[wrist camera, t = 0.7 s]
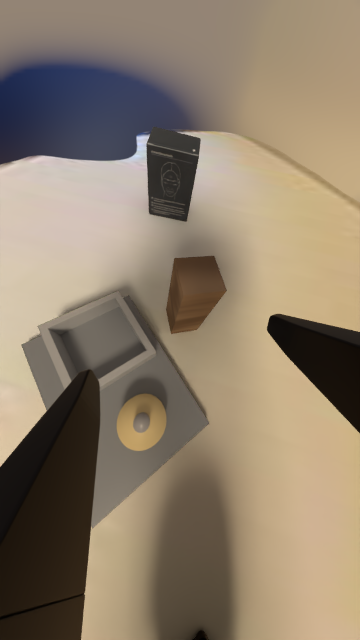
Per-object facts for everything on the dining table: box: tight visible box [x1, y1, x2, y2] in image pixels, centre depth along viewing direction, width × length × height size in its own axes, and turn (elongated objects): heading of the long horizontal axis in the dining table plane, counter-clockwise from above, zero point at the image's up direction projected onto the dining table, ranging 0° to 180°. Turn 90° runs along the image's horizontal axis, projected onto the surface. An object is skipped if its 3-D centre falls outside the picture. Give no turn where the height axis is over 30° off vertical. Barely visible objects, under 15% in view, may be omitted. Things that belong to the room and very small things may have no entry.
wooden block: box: [166, 256, 227, 334], centre depth 20 cm, size 4×4×11 cm
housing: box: [22, 291, 209, 528], centre depth 18 cm, size 20×14×4 cm
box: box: [147, 127, 200, 221], centre depth 29 cm, size 8×6×11 cm
